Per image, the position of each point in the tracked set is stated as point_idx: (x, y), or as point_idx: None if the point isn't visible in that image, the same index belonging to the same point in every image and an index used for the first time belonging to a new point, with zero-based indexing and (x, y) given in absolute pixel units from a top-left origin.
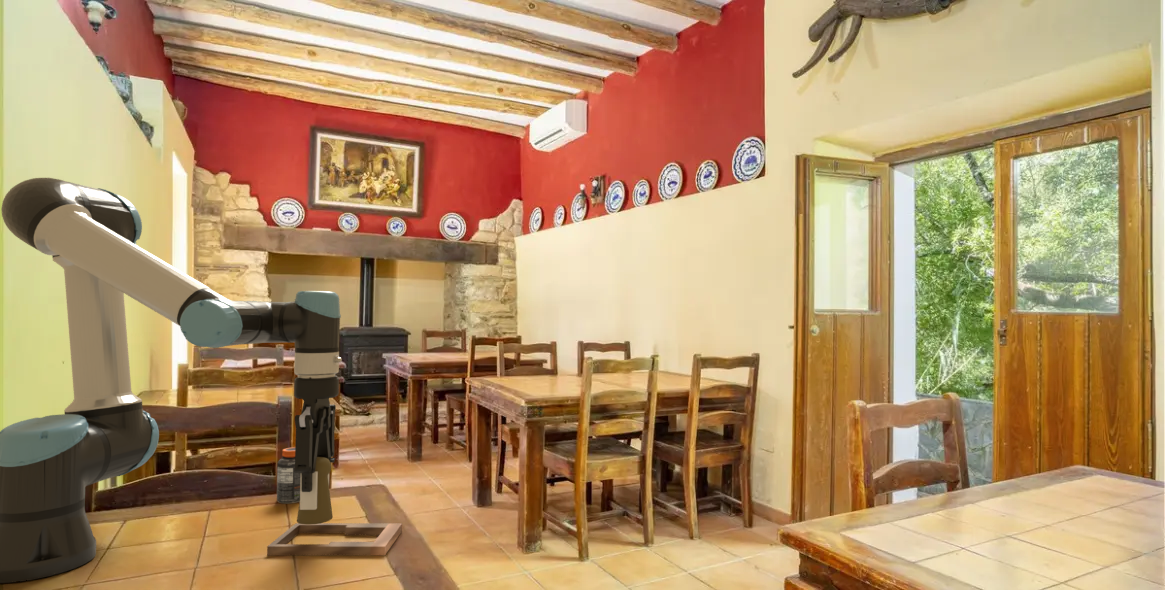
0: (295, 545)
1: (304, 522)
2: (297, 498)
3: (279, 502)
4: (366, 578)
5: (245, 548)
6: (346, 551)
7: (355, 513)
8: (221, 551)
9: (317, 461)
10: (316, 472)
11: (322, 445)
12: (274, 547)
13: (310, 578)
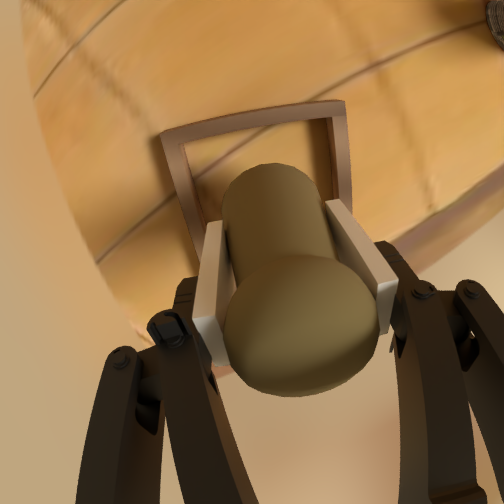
0: (184, 195)
1: (221, 212)
2: (500, 41)
3: (487, 6)
4: (145, 338)
5: (194, 48)
6: None
7: (450, 185)
8: (164, 12)
9: (261, 390)
10: (221, 364)
11: (406, 406)
12: (165, 150)
13: (109, 277)
